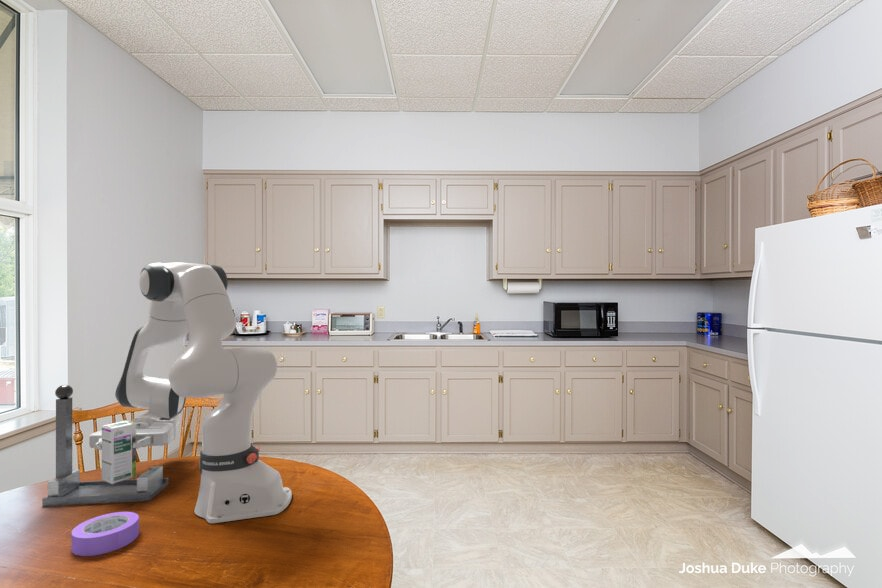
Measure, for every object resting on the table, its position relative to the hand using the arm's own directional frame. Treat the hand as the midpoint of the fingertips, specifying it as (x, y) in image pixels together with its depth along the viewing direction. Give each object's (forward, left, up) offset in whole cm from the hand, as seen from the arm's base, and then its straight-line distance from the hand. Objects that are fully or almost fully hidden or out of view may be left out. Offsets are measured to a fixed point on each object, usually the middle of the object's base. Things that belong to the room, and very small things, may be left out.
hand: (116, 446), depth 120 cm
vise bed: (+2, -1, -13) cm, 13 cm away
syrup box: (0, -1, -9) cm, 9 cm away
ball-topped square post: (+13, -1, -12) cm, 18 cm away
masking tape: (-11, +23, -13) cm, 29 cm away
